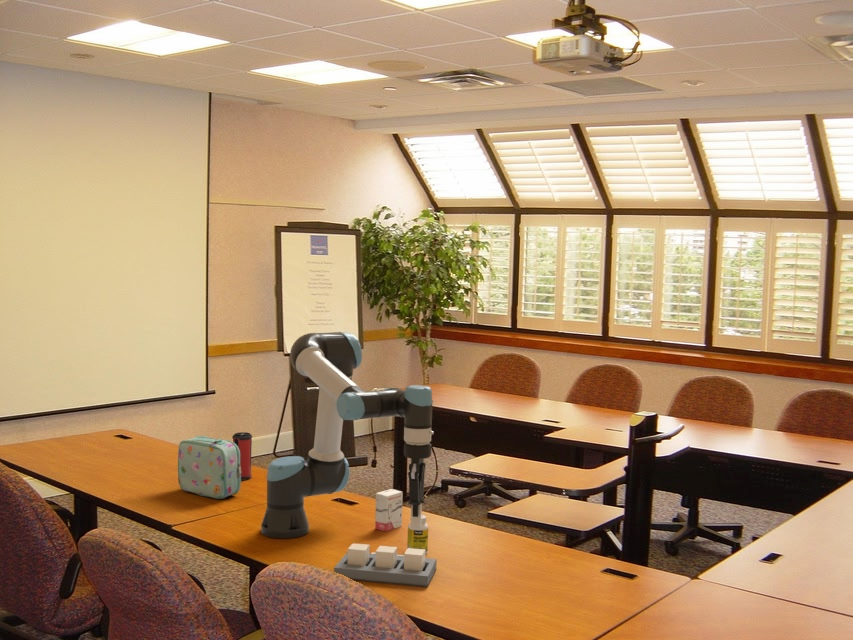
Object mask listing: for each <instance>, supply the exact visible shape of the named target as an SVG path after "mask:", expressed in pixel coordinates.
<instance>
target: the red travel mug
mask: <svg viewBox="0 0 853 640" xmlns="http://www.w3.org/2000/svg"><path fill="white" fill-rule="evenodd" d="M231 437H232V442H233V443H235V444H236V445H237V446H238V448H239V450H240V467H241V472H242V473H241V481H248V480H251V479H252V478H253V477H252V442H253V441H252V440H253V435H252V434H251V433H250V432H244V431H243V432H236V433H234V434H233V435H232V436H231Z"/></svg>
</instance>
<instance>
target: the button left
mask: <svg viewBox="0 0 853 640" xmlns="http://www.w3.org/2000/svg"><path fill="white" fill-rule="evenodd" d="M370 546H371V545H370V544H367V543H365V544H364V543H363V544H362V543H352V544H350V545H349V547H348V548H347V552H348V561H347V564H349V565H360V566H366V564H367V563H368V562H369V553H370Z"/></svg>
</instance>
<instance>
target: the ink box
mask: <svg viewBox="0 0 853 640" xmlns="http://www.w3.org/2000/svg"><path fill="white" fill-rule="evenodd" d="M403 495H404V494H403V491H401V490H398V489H394V488H390V489H385V490H382V491H379V492H376V494H375V518H374V519H375V521H374V522H375V524H374V527H375V530H379V531H382V532H389V531H391V530H394V529H397V528H401V527H402V526H403Z"/></svg>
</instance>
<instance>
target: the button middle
mask: <svg viewBox="0 0 853 640" xmlns="http://www.w3.org/2000/svg"><path fill="white" fill-rule="evenodd" d="M375 553H376V564H375V567H383V568H394V567H395V565H396V564H397V555H398V546H389V545H379V546H378V547H377V549H376V550H375Z"/></svg>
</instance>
